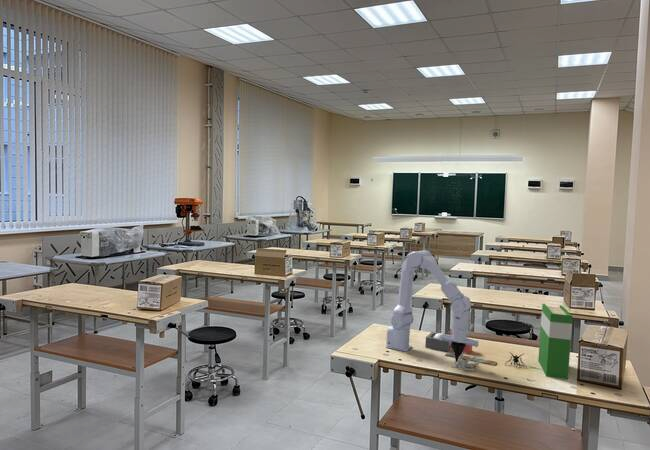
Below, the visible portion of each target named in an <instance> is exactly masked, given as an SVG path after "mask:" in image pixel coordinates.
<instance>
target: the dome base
mask: <svg viewBox="0 0 650 450" xmlns="http://www.w3.org/2000/svg"><path fill="white" fill-rule="evenodd" d="M437 333H438V332H437V331H431V332H430V333H429V334H428V335H427V336H425V346H424V347H425V348H427V349H432V350H433V349H434V350H437V351H443V352H446V353H447V352H449V351H450V350H451V349H452V347H451V344H452V342H449V341H444V340H443V341H441V340H440V339H438V338H434V336H435V335H436V334H437ZM443 334H444V335H450V336H452V334H447V333H443Z"/></svg>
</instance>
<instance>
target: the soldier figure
mask: <svg viewBox="0 0 650 450" xmlns="http://www.w3.org/2000/svg"><path fill="white" fill-rule="evenodd" d="M465 354H467V353H466V352H463V353H462V354H461V355H460V356H459V358H458V361H457V362H456V361H454V362H453V363H454V365H455V367H456V368H458V367H460V368H461V369H462V370H463V371H467V372H468V371H469V372H471V371H472V372H474V371H476V369H475V368H472V367H475V366H478V365H479V364H480V363H479V362H474V363H473V362H471V361H470V360H473V359H475V358H476V356H472V357H473V358H470V357H471V356H470V357H469V358H467V359H466V360H464V359H461V358H462V356H463V355H465ZM469 362H471V363H469Z"/></svg>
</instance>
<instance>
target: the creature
mask: <svg viewBox="0 0 650 450" xmlns="http://www.w3.org/2000/svg"><path fill="white" fill-rule="evenodd" d="M510 354H511V356H510V359H509V360H507V361H506V362H505V363H504V364H505V366H506V367H507V366H510V367H511V366H512V367H513V366H514V368H516V366H518V365H519V367H520V368H521V369H523V368H522V366H521V364H522V365H524V366H525V368H524V369H527V365H526V363H524V362H523V360H522V356H523V355H525V353H522V354H520V355H519V356H518V355H517V354H515V355H514V354H513V353H510ZM519 359H520V360H519ZM508 362H511V363H510V365H507V363H508ZM512 364H513V365H512Z"/></svg>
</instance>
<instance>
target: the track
mask: <svg viewBox="0 0 650 450" xmlns="http://www.w3.org/2000/svg"><path fill="white" fill-rule="evenodd" d="M445 357H450V358H454V359H455V354H454V352H449V351H448V352H447V351H446V353H445ZM469 357H470V358H473V357H474V356H469V355H466V354H463V356H462V358H461V360H466V359H467V358H469ZM469 362H474V363H479V364H485V365H489V366H496V365H497V362H498V361H495V360H490V359H484V358H481V357H479V358H478V357H475V359H473V360H470V361H469Z"/></svg>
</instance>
